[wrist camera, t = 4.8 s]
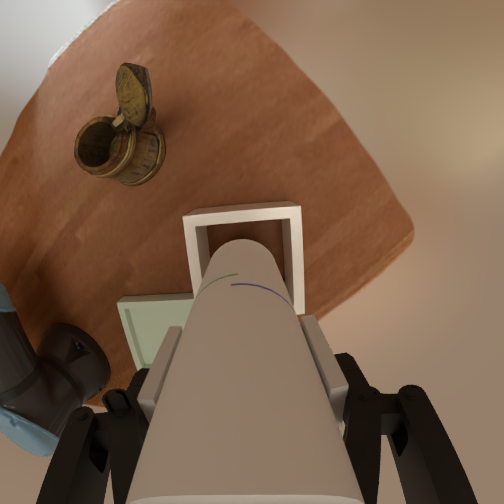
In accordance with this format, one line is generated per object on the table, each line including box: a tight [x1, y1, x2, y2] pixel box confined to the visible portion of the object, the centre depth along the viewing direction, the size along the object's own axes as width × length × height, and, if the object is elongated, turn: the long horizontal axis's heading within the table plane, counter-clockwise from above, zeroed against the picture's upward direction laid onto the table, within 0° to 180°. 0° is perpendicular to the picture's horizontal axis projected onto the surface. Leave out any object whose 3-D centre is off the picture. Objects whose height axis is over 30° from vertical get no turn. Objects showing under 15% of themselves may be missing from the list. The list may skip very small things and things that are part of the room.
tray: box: [117, 292, 195, 371], centre depth 40 cm, size 13×13×2 cm
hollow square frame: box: [183, 201, 305, 315], centre depth 34 cm, size 12×12×8 cm
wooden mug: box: [74, 63, 165, 186], centre depth 26 cm, size 9×14×18 cm, turn 121°
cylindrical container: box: [126, 239, 365, 504], centre depth 17 cm, size 7×7×25 cm
